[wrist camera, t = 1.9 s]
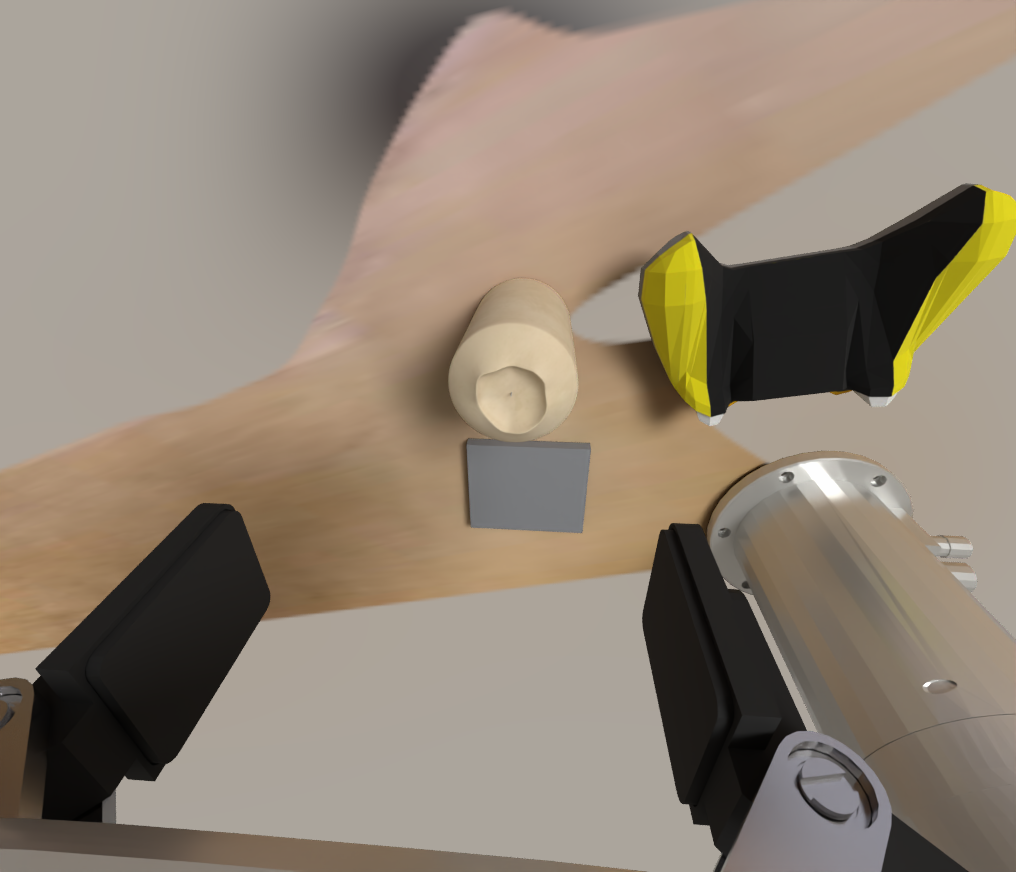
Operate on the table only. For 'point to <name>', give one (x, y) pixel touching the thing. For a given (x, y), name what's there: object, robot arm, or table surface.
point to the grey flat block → (527, 484)
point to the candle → (516, 363)
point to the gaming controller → (819, 306)
